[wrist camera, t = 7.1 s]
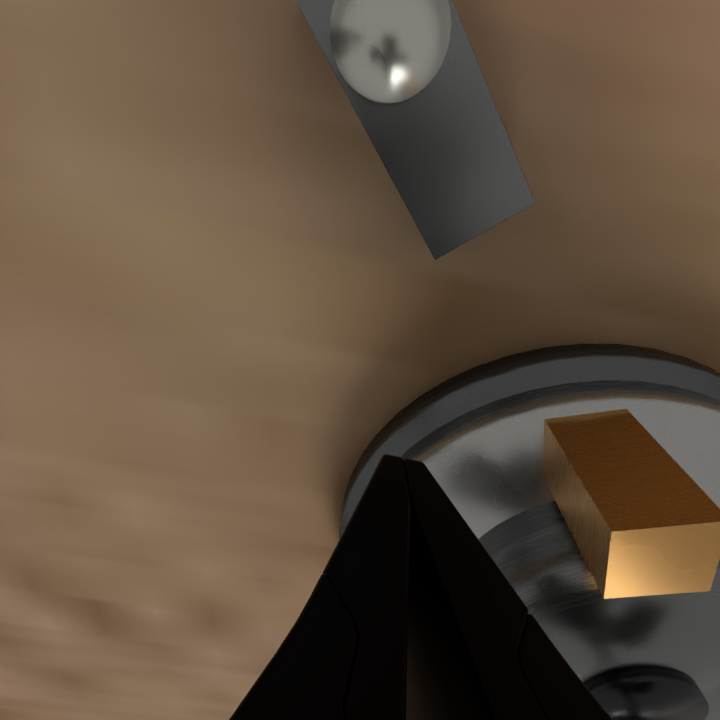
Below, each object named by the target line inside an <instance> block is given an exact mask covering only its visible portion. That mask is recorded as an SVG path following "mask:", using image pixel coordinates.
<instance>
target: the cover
mask: <svg viewBox="0 0 720 720" xmlns="http://www.w3.org/2000/svg"><path fill="white" fill-rule="evenodd" d="M478 540H479V541H480V542H481V544H482V545H483V547H484V548H485V549H486V551H487V552H488V554H489V555H490V556H491V558H492V559H493V561H494V562H495V563H496V565H497V566H498V568H499V569H500V570H501V572H502V573H503V575H504V576H505V577H506V579H507V580H508V582H509V583H510V584H511V586H512V587H513V589H514V590H515V591H516V593H517V594H518V596H519V597H520V598H521V600H522V601H523V602H524V604H525V605H526V607H527V608H528V610H529V613H528V614H532V615H533V616H534V618H535V619H536V620H537V622H538V623H539V625H540V626H541V627H542V629H543V630H544V632H545V633H546V634H547V636H548V637H549V638H550V640H551V641H552V643H553V644H554V645H555V647H556V648H557V649H558V651H559V652H560V653H561V655H562V656H563V657H564V659H565V660H566V661H567V663H568V664H569V665H570V667H571V668H572V669H573V671H574V672H575V673H576V674H577V676H578V677H579V678H580V679H581V681H582V682H583V683H584V684H585V686H586V687H587V688H588V689H589V691H590V692H591V693H592V694H593V696H594V697H595V698H596V700H597V701H598V702H599V703H600V705H601V706H602V707H603V708H604V710H605V711H606V712H607V713H608V714H609V716H610V717H611V718H612V719H613V720H720V559H719V563H718V566H717V569H716V573H715V576H714V579H713V583H712V586H711V589H710V591H704V592H691V593H677V594H663V595H649V596H636V597H622V598H608V599H604V598H603V596H602V594H601V592H600V590H599V588H598V586H597V584H596V582H595V580H594V578H593V576H592V574H591V572H590V570H589V568H588V566H587V564H586V562H585V560H584V558H583V556H582V554H581V552H580V549H579V547H578V545H577V543H576V541H575V539H574V537H573V535H572V533H571V531H570V529H569V527H568V525H567V523H566V521H565V519H564V517H563V515H562V513H561V511H560V509H559V507H558V505H557V503H556V501H551V502H548V503H545V504H542V505H539V506H536V507H533V508H530V509H528V510H526V511H523V512H521V513H519V514H516V515H514V516H512V517H511V518H509V519H507V520H505V521H503V522H501V523H500V524H498V525H496V526H495V527H494V528H492V529H491V530H489V531H488V532H486V533H485V534H484V535H482V536H481V537H480V538H479V539H478Z"/></svg>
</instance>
